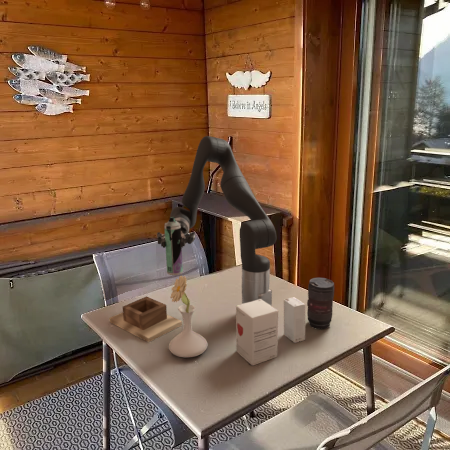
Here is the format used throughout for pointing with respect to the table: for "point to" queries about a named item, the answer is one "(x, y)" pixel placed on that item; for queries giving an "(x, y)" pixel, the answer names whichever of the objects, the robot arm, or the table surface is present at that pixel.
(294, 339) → the skincare box
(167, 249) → the spray can
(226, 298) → the table surface
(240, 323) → the supplement box
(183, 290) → the flower in vase
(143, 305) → the can holder
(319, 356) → the table surface
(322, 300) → the camera lens
